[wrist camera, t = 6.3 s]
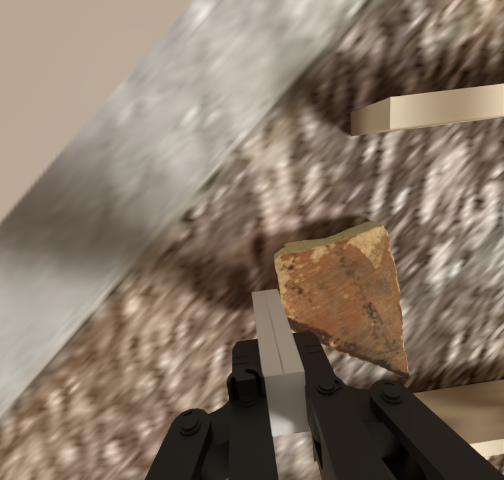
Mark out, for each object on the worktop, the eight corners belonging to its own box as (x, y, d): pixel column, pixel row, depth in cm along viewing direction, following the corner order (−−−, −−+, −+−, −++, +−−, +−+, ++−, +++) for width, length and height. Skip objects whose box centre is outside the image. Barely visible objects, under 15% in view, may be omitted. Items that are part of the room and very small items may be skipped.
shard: (397, 364, 20) (413, 383, 19) (292, 392, 20) (297, 413, 19) (378, 217, 17) (395, 223, 15) (254, 250, 17) (256, 260, 16)
